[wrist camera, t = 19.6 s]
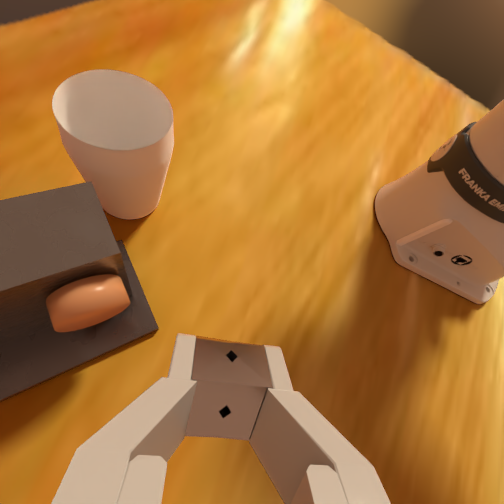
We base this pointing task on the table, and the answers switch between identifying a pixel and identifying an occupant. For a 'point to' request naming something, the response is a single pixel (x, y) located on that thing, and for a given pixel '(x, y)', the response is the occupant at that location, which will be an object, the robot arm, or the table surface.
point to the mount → (58, 284)
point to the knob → (87, 302)
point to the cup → (117, 137)
